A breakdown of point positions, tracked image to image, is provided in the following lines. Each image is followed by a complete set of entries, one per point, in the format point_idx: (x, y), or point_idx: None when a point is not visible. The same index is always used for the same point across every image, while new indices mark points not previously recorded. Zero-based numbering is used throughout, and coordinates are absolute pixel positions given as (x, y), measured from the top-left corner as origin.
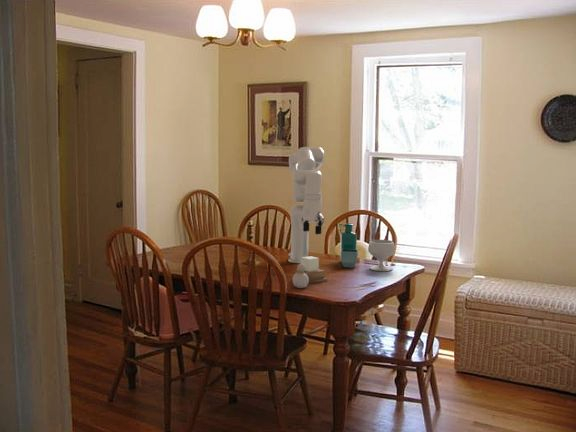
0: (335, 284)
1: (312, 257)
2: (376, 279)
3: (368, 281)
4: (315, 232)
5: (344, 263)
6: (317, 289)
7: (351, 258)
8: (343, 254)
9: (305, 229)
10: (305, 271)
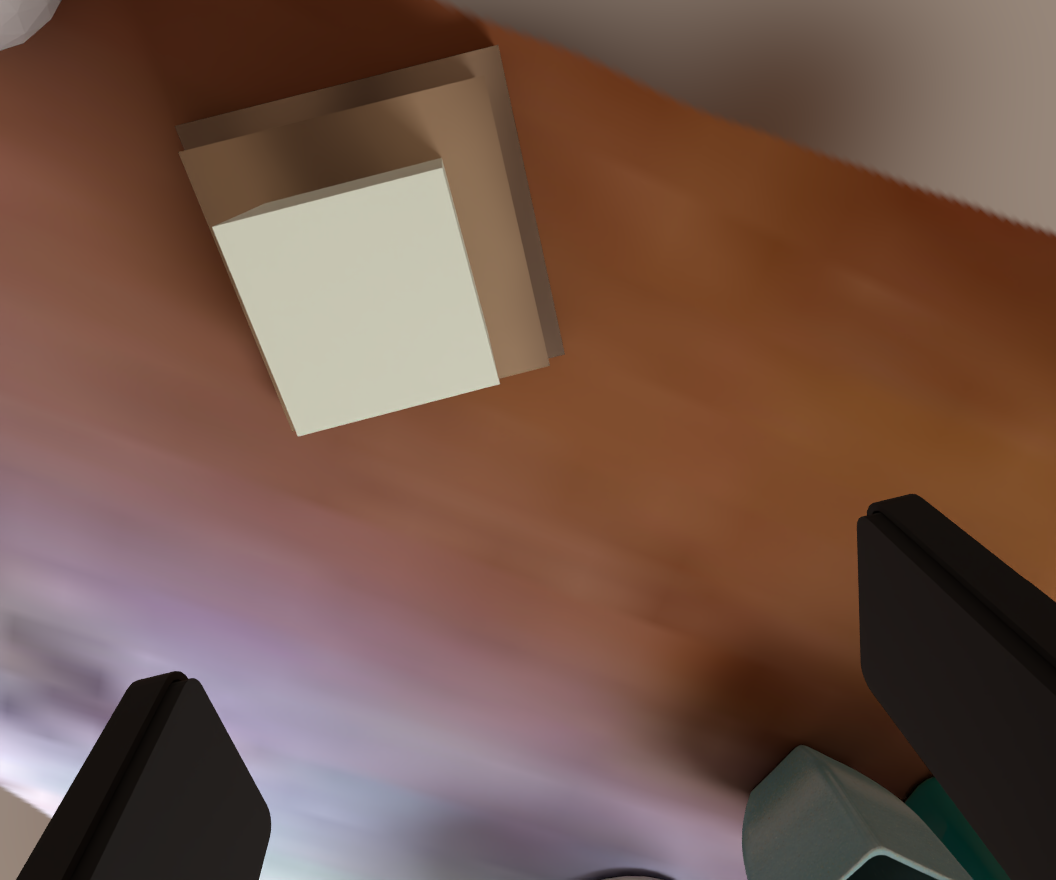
0: (124, 433)
1: (371, 355)
2: (279, 809)
3: None
4: (139, 707)
5: (800, 771)
6: None
7: (773, 855)
8: (840, 838)
9: (893, 589)
10: (289, 161)
